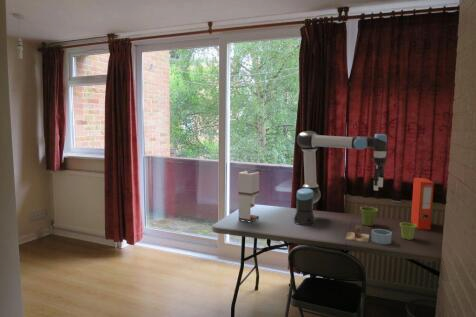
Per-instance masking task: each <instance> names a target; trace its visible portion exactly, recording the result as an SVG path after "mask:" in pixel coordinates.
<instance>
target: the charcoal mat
mask: <svg viewBox="0 0 476 317" xmlns="http://www.w3.org/2000/svg"><path fill="white" fill-rule="evenodd" d="M345 238H346V236H345ZM345 238H344V239H343V240H344V241H346V240H345ZM349 241H350V242H354V241H353V240H349ZM370 241H371V235H370V236H369V241H368V243H367V242H364V243H366V244H370ZM356 242H360V241H356ZM360 243H361V242H360Z"/></svg>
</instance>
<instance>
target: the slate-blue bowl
mask: <svg viewBox="0 0 476 317" xmlns="http://www.w3.org/2000/svg"><path fill="white" fill-rule="evenodd" d="M392 233H393V232H392V231H390V230H388V229H383V228H374V229H371V235H370V241H371V242H373V243H376V244H380V245H389V244H390V245H391V244H392V236H393V234H392Z"/></svg>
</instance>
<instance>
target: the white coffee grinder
mask: <svg viewBox="0 0 476 317" xmlns="http://www.w3.org/2000/svg"><path fill="white" fill-rule="evenodd" d="M237 185H238V221H239V220H244V221H243V222H245V221H250V222H252V221H253V222H255V221H257V220H258V219H257V218H259V219H260V217H259V215H254V214H251V208H253V207H255V201H256V200H255V198H256V197H257V196H260V172H259V171H256V172H252V173H248V171H247V170H245V171H240V172H238V184H237ZM256 219H257V220H256ZM254 220H255V221H254ZM250 222H249V223H250ZM253 222H252V223H253Z"/></svg>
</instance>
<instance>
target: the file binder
mask: <svg viewBox="0 0 476 317" xmlns="http://www.w3.org/2000/svg"><path fill="white" fill-rule="evenodd" d="M412 183H413V188H412V198H411V199H412V201H411V215H410V223H412V224H415V225H416V229H418V230H426V231H431V229H432V228H431V226H432V212H433V201H434V186H435V183H434V182H433V181H432V180H429V179H427V178H426V177H414V178H413V182H412Z"/></svg>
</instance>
